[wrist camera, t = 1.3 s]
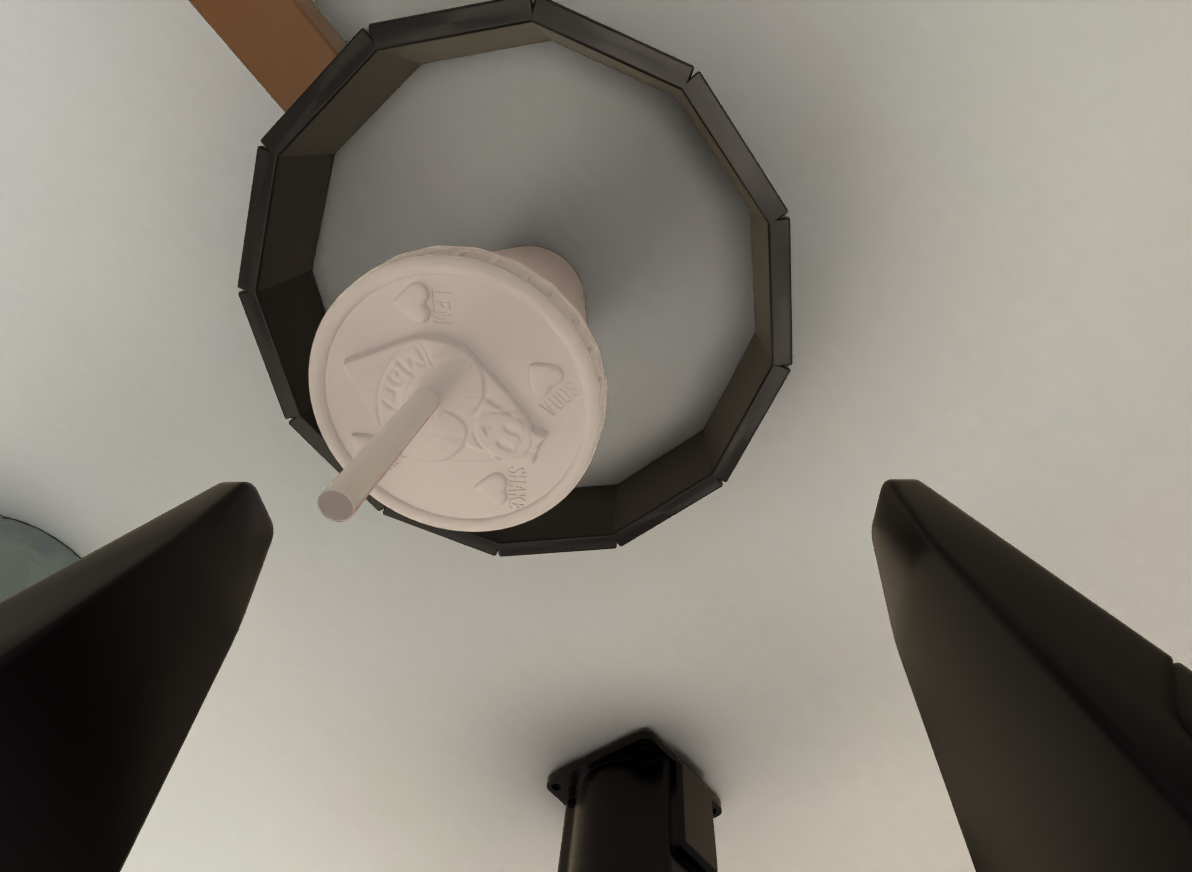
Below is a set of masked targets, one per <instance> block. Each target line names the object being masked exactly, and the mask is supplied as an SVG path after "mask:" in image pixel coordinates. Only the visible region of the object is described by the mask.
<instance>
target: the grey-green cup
mask: <svg viewBox="0 0 1192 872" xmlns="http://www.w3.org/2000/svg"><path fill="white" fill-rule="evenodd" d="M79 559H80V558H79V557H78V556H76V555H75V554H74V553H73V552H72V551H71V550H70V549H68V548H67V547H65V546H64V545H63V544H61V543H60V542H59V541H57V540H56V539H54V538H52V537H51V536H49V535H47V534H46V533H44V532H42V531H41V530H39V529H37V528H35V527H32V526H29V525H26V524H23V523H21V522H18V521H15V520H12V519H4V518H2V517H1V516H0V602H2V601H4V600H6V599H8V598H10V597H11V596H13V595H15V594H17V593H19V592H21V591H22V590H24V589H26V588H28V587H30V586H32V585H33V584H35V583H37V582H39V581H41V580H43V579H45V578H46V577H48V576H50V575H52V574H54V573H56V572H57V571H59V570H61V569H63V568H65V567H67V566H68V565H70V564H72V563H74V562H76V561H78V560H79Z"/></svg>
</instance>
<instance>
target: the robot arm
mask: <svg viewBox="0 0 1192 872" xmlns="http://www.w3.org/2000/svg"><path fill="white" fill-rule="evenodd" d="M272 538H273V524H272V521H271V519H270V517H269V515H268V512H267V510H266V508H265V506H264V504H263V502H262V500H261V498H260V495H259V493H258V491H257V489H256V488H255V487H254V486H253V485H252V484H251V483H248V482H223V483H220V484H217V485H215V486H214V487H212V488H210V489H208V490H206V491H204V492H203V493H201V494H199V495H197V496H195V497H193V498H192V499H190V500H188V501H186V502H184V503H182V504H181V505H179V506H177V507H175V508H173V509H171V510H170V511H168V512H166V513H164V514H162V515H160V516H158V517H157V518H155V519H153V520H151V521H149V522H147V523H146V524H144V525H142V526H140V527H138V528H136V529H135V530H133V531H131V532H129V533H127V534H125V535H124V536H122V537H120V538H118V539H116V540H114V541H113V542H111V543H109V544H107V545H105V546H103V547H102V548H100V549H98V550H96V551H94V552H92V553H90V554H89V555H87V556H85V557H83V558H81V559H79V560H78V561H76V562H74V563H72V564H70V565H68V566H67V567H65V568H63V569H61V570H59V571H57V572H56V573H54V574H52V575H50V576H48V577H46V578H45V579H43V580H41V581H39V582H37V583H35V584H33V585H32V586H30V587H28V588H26V589H24V590H22V591H21V592H19V593H17V594H15V595H13V596H11V597H10V598H8V599H6V600H4V601H2V602H0V872H120V871H121V869H122V867H123V865H124V863H125V861H126V859H127V857H128V855H129V853H130V851H131V849H132V847H133V845H134V843H135V841H136V838H137V836H138V834H139V832H140V830H141V828H142V826H143V824H144V822H145V820H146V818H147V816H148V814H149V812H150V810H151V808H152V806H153V804H154V802H155V800H156V798H157V796H158V794H159V792H160V790H161V788H162V786H163V783H164V781H165V779H166V777H167V775H168V773H169V771H170V769H171V767H172V765H173V763H174V761H175V759H176V757H177V755H178V753H179V751H180V749H181V747H182V745H183V743H184V741H185V739H186V737H187V735H188V733H189V730H190V728H191V726H192V724H193V722H194V720H195V718H196V716H197V714H198V712H199V710H200V708H201V706H202V704H203V702H204V700H205V698H206V696H207V694H208V692H209V690H210V688H211V686H212V684H213V682H214V680H215V678H216V675H217V673H218V671H219V669H220V667H221V665H222V663H223V661H224V659H225V657H226V655H227V653H228V651H229V649H230V647H231V645H232V643H233V641H234V638H235V636H236V634H237V632H238V630H239V627H240V625H241V622H242V620H243V617H244V615H245V612H246V609H247V607H248V604H249V601H250V598H251V596H252V593H253V590H254V588H255V585H256V582H257V579H258V577H259V574H260V571H261V569H262V566H263V563H264V560H265V558H266V555H267V552H268V549H269V547H270V544H271V541H272ZM872 542H873V546H874V551H875V555H876V560H877V564H878V569H879V573H880V578H881V582H882V587H883V591H884V596H885V600H886V605H887V609H888V614H889V618H890V623H891V627H892V631H893V635H894V639H895V643H896V646H897V649H898V652H899V655H900V658H901V661H902V664H903V667H904V670H905V672H906V675H907V678H908V681H909V684H910V686H911V689H912V692H913V695H914V698H915V701H916V703H917V706H918V709H919V712H920V715H921V718H922V720H923V723H924V726H925V729H926V732H927V735H928V737H929V740H930V743H931V746H932V749H933V751H934V754H935V757H936V760H937V763H938V766H939V768H940V771H941V774H942V777H943V780H944V783H945V785H946V788H947V791H948V794H949V797H950V799H951V802H952V805H953V808H954V811H955V814H956V816H957V819H958V822H959V825H960V828H961V831H962V833H963V836H964V839H965V842H966V845H967V848H968V850H969V853H970V856H971V859H972V862H973V864H974V867H975V870H976V872H1192V671H1191V670H1190V669H1188V668H1187V667H1185V666H1184V665H1182V664H1181V663H1173V659H1172V657H1171V656H1169V655H1168V654H1166V653H1165V652H1164V651H1162V650H1161V649H1159V648H1158V647H1156V646H1155V645H1154V644H1152V643H1151V642H1149V641H1148V640H1146V639H1145V638H1144V637H1142V636H1141V635H1139V634H1138V633H1136V632H1135V631H1134V630H1132V629H1131V628H1129V627H1128V626H1126V625H1125V624H1124V623H1122V622H1121V621H1119V620H1118V619H1116V618H1115V617H1114V616H1112V615H1111V614H1109V613H1108V612H1106V611H1105V610H1104V609H1102V608H1101V607H1099V606H1098V605H1096V604H1095V603H1094V602H1092V601H1091V600H1089V599H1088V598H1086V597H1085V596H1084V595H1082V594H1081V593H1079V592H1078V591H1076V590H1075V589H1074V588H1072V587H1071V586H1069V585H1068V584H1066V583H1065V582H1064V581H1062V580H1061V579H1059V578H1058V577H1056V576H1055V575H1054V574H1052V573H1051V572H1049V571H1048V570H1046V569H1045V568H1044V567H1042V566H1041V565H1039V564H1038V563H1036V562H1035V561H1034V560H1032V559H1031V558H1029V557H1028V556H1026V555H1025V554H1024V553H1022V552H1021V551H1019V550H1018V549H1016V548H1015V547H1014V546H1012V545H1011V544H1009V543H1008V542H1006V541H1005V540H1004V539H1002V538H1001V537H999V536H998V535H996V534H995V533H994V532H992V531H991V530H989V529H988V528H986V527H985V526H984V525H982V524H981V523H979V522H978V521H976V520H975V519H974V518H972V517H971V516H969V515H968V514H966V513H965V512H964V511H962V510H961V509H959V508H958V507H956V506H955V505H954V504H952V503H951V502H949V501H948V500H946V499H945V498H944V497H942V496H941V495H939V494H938V493H936V492H935V491H934V490H932V489H931V488H929V487H928V486H926V485H925V484H924V483H922V482H920V481H918V480H914V479H890V480H887V481H886V482H884V484H883V486H882V488H881V491H880V495H879V499H878V503H877V507H876V511H875V515H874V519H873V524H872ZM547 789H548V790H549V791H550V792H551V793H552V794H553V795H555V796H556V797H557V798H558V799H559V800H560V801H561V802H562V803H563V804H565V805H566V811H565V819H564V827H563V835H562V842H561V850H560V858H559V866H558V872H717V871H718V869H717V857H716V846H715V834H714V823H713V818H715V817H717V816H719V815H720V814H721V802H720V800H719V799H718V798H717V797H716V796H715V795H714V794H713V793H712V792H711V791H710V789H709V788H708V787H707V786H706V785H705V784H704V783H703V782H702V781H701V780H700V779H699V778H698V777H697V776H696V775H695V774H694V773H693V772H692V771H691V770H690V769H689V768H688V766H687V765H686V764H685V763H684V762H682V761H681V760H679V759H678V758H677V757H676V756H675V755H674V754H673V753H672V752H671V751H670V750H669V749H668V748H667V747H666V746H665V745H664V744H663V743H662V741H661V740H660V739H659V738H658V737H657V736H656V735H655V734H653V733H652V732H649V731H641V732H638V733H636V734H634V735H632V736H630V737H628V738H626V739H624V740H622V741H620V742H617V743H615V744H613V745H611V746H609V747H607V748H605V749H603V750H601V751H599V752H596V753H594V754H592V755H590V756H588V757H586V758H584V759H582V760H580V761H578V762H575V763H573V764H571V765H569V766H567V767H565V768H563V769H561V770H559V771H557V772H554V773H552V774H551V775H549V777H548V780H547Z"/></svg>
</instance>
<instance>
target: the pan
mask: <svg viewBox="0 0 1192 872" xmlns="http://www.w3.org/2000/svg"><path fill="white" fill-rule="evenodd" d="M189 1H190V2H191V4H192V5H193V6H194V7H195V8H196V9H197V11H198V12H199V13H200V14H201V15H202V16H203V18H204V19H205V20H206V21H207V22H208V23H209V25H210V26H211V27H212V28H213V29H214V30H215V31H216V33H217V34H218V35H219V36H220V37H221V38H222V40H223V41H224V42H225V43H226V44H227V45H228V47H229V48H230V49H231V50H232V51H233V52H234V54H235V55H236V56H237V57H238V58H239V59H240V61H241V62H242V63H243V64H244V65H245V66H246V67H247V69H248V70H249V71H250V72H251V73H252V74H253V76H254V77H255V78H256V79H257V80H258V81H259V83H260V84H261V85H262V86H263V87H264V88H265V90H266V91H267V92H268V93H269V94H270V95H271V97H272V98H273V99H274V100H275V101H276V102H277V103H278V105H279V106H280V107H281V108H282V109H283V110H284V112H286V113H285V114H284V115H283V116H282V117H281V118H280V119H279V120H278V121H277V122H276V124H275V125H274V126H273V127H272V128H271V129H270V130H269V131H268V132H267V133H266V135H265V136H264V137H263V138H262V139H261V142H262V143H263V144H264V146H259V147H258V149H257V156H256V163H255V170H254V177H253V184H252V191H251V197H250V204H249V211H248V218H247V225H246V232H245V239H244V246H243V253H242V260H241V267H240V273H239V280H238V287H239V288H241V289H243V291H240V292H239V297H240V299H241V302H242V305H243V307H244V310H245V313H246V315H247V318H248V321H249V323H250V326H251V329H252V331H253V334H254V337H255V339H256V342H257V345H258V347H259V350H260V353H261V355H262V358H263V361H264V363H265V366H266V369H267V371H268V374H269V377H270V379H271V382H272V385H273V387H274V390H275V393H276V395H277V398H278V401H279V403H280V406H281V409H282V411H283V414H284V417H285V418H286V419H289V418H293V419H291V420H290V421H289V424H290V425H291V426H292V427H293V428H294V429H295V430H296V431H297V432H298V433H299V434H300V435H301V436H302V437H303V438H304V439H305V440H306V441H307V442H308V443H309V444H310V445H311V446H312V447H313V448H314V449H315V450H316V451H317V452H318V453H319V454H320V455H321V456H322V457H323V458H325V459H326V460H327V461H328V462H329V463H330V464H331V465H332V466H333V467H334V468H335V469H336V470H337V471H338V472H339V473H340V472H341V471H342V470H343V468H342V466H341V465H340V464H339V462H338V461H337V460H336V458H335V457H334V455H333V454H332V452H331V451H330V449H329V447H328V446H327V444H326V442H325V440H324V438H323V436H322V434H321V431H320V429H319V427H318V424H317V421H316V418H315V415H314V412H313V408H312V403H311V399H310V391H309V361H310V354H311V349H312V344H313V341H314V338H315V335H316V332H317V330H318V328H319V325H320V323H321V321H322V319H323V317H324V316H325V311H324V308H323V305H322V302H321V299H320V296H319V293H318V290H317V286H316V283H315V280H314V277H313V274H312V271H311V269H312V264H313V259H314V254H315V249H316V243H317V238H318V233H319V228H320V223H321V218H322V213H323V208H324V202H325V197H326V192H327V187H328V182H329V177H330V172H331V167H332V161H333V156H334V153H335V152H336V151H337V150H338V149H339V148H340V147H341V146H342V145H343V144H344V143H345V142H346V141H347V140H348V139H349V138H350V137H351V136H352V135H353V134H354V133H355V132H356V131H357V130H358V129H359V128H360V126H361V125H362V124H363V123H364V122H365V121H366V120H367V119H368V118H369V117H370V116H371V115H372V114H373V113H374V112H375V111H376V110H377V109H378V108H379V107H380V106H381V105H382V104H383V103H384V102H385V101H386V100H387V99H388V98H389V97H390V96H391V94H392V93H393V92H394V91H395V90H396V89H397V88H398V87H399V86H400V85H401V84H402V83H403V82H404V81H405V80H406V79H407V78H408V77H409V76H410V75H411V74H412V73H413V72H414V71H415V70H416V69H417V68H418V67H419V66H420V65H421V64H423V63H429V62H434V61H440V60H445V59H451V58H456V57H462V56H467V55H473V54H478V53H484V52H490V51H495V50H501V49H506V48H512V47H517V46H523V45H528V44H534V43H539V42H545V41H551V40H552V41H554V42H556V43H558V44H561V45H563V46H565V47H567V48H569V49H572V50H574V51H576V52H578V53H580V54H583V55H585V56H587V57H589V58H591V59H594V60H596V61H598V62H600V63H602V64H605V65H607V66H609V67H611V68H613V69H616V70H618V71H620V72H622V73H624V74H626V75H629V76H631V77H633V78H635V79H637V80H640V81H642V82H644V83H646V84H648V85H651V86H653V87H655V88H657V89H659V90H662V91H664V92H666V93H668V94H670V95H673V96H675V97H677V98H678V100H679V101H680V103H681V105H682V106H683V108H684V109H685V111H686V112H687V114H688V115H689V117H690V118H691V120H692V121H693V123H694V124H695V126H696V127H697V129H698V131H699V132H700V134H701V135H702V137H703V138H704V140H705V141H706V143H707V144H708V146H709V147H710V149H711V150H712V152H713V153H714V155H715V157H716V158H717V160H718V161H719V163H720V164H721V166H722V167H723V169H724V170H725V172H726V173H727V175H728V176H729V178H730V179H731V181H732V183H733V184H734V186H735V187H736V189H737V190H738V192H739V193H740V195H741V196H742V198H743V199H744V201H745V202H746V204H747V205H748V207H749V208H750V212H751V236H752V261H753V286H754V310H755V334H754V336H753V338H752V340H751V342H750V344H749V345H748V347H747V349H746V351H745V353H744V355H743V357H742V359H741V360H740V362H739V364H738V366H737V368H736V370H735V372H734V374H733V376H732V377H731V379H730V381H729V383H728V385H727V387H726V389H725V391H724V392H723V394H722V396H721V398H720V400H719V402H718V404H717V406H716V407H715V409H714V411H713V413H712V415H711V417H710V419H709V421H708V423H707V424H706V426H705V428H704V430H703V431H701V432H699V433H698V434H696V435H695V436H693V437H692V438H690V439H689V440H687V441H685V442H684V443H682V444H681V445H679V446H678V447H676V448H674V449H673V450H671V451H670V452H668V453H667V454H665V455H663V456H662V457H660V458H659V459H657V460H656V461H654V462H653V463H651V464H649V465H648V466H646V467H645V468H643V469H642V470H640V471H638V472H637V473H635V474H634V475H632V476H631V477H629V478H627V479H626V480H624V481H623V482H621V483H620V484H618V485H611V486H599V487H587V488H575V489H573V490H572V491H571V492H570V493H569V494H568V495H567V496H566V497H565V498H564V499H563V500H562V501H560V502H559V503H558V504H557V505H556V506H554V507H553V508H551V509H550V510H548V511H547V512H545V513H543V514H542V515H540V516H538V517H536V518H534V519H532V520H530V521H527V522H525V523H522V524H519V525H516V526H513V527H509V528H505V529H500V530H493V531H481V532H466V531H455V530H447V529H442V528H437V527H433V526H430V525H427V524H423V523H420V522H418V521H415V520H412V519H410V518H408V517H406V516H403V515H401V514H399V513H397V512H395V511H394V510H392V509H390V508H388V507H387V506H385V505H384V504H382V503H381V502H379V501H378V500H376V499H375V498H373V497H372V496H371V495H370V494H369V495H368V496H367V498H366V500H368V501H369V502H370V503H371V504H372V505H373V506H374V507H375V508H376V509H377V510H378V511H380V510H382V509H383V508H384V510H383V514H384V515H387V516H389V517H392V518H395V519H397V520H400V521H403V522H405V523H408V524H411V525H413V526H416V527H419V528H421V529H424V530H427V531H429V532H432V533H435V534H437V535H440V536H443V537H445V538H448V539H451V540H453V541H456V542H459V543H461V544H464V545H467V546H470V547H472V548H475V549H478V550H480V551H483V552H486V553H488V554H491V555H494V556H495V555H496V554H497V552H499V555H500V556H501V557H502V556H516V555H530V554H544V553H558V552H572V551H585V550H599V549H613V548H616V547H617V543H618V544H619V546H623V545H625V544H626V543H628V542H630V541H631V540H633V539H635V538H636V537H638V536H640V535H641V534H643V533H645V532H646V531H648V530H650V529H651V528H653V527H655V526H656V525H658V524H660V523H661V522H663V521H665V520H667V519H668V518H670V517H672V516H673V515H675V514H677V513H678V512H680V511H682V510H683V509H685V508H687V507H688V506H690V505H692V504H693V503H695V502H697V501H698V500H700V499H702V498H703V497H705V496H707V495H708V494H710V493H712V492H713V491H715V490H717V489H718V488H720V487H722V485H723V484H722V481H724V482H727V481H728V479H729V477H730V475H731V474H732V472H733V470H734V468H735V467H736V465H737V463H738V461H739V460H740V458H741V456H742V454H743V453H744V451H745V449H746V447H747V446H748V444H749V442H750V441H751V439H752V437H753V435H754V434H755V432H756V430H757V428H758V427H759V425H760V423H761V421H762V420H763V418H764V416H765V414H766V413H767V411H768V409H769V407H770V406H771V404H772V402H773V400H774V399H775V397H776V395H777V393H778V392H779V390H780V388H781V386H782V385H783V383H784V381H785V380H786V378H787V376H788V374H789V373H790V368H789V366H788V365H792V363H793V361H792V299H791V237H790V218H789V217H788V216H786V215H785V214H787V213H788V210H787V208H786V206H785V205H784V203H783V202H782V200H781V199H780V197H779V195H778V194H777V192H776V191H775V189H774V187H773V186H772V184H771V183H770V181H769V180H768V178H767V176H766V175H765V173H764V172H763V170H762V169H761V167H760V165H759V164H758V162H757V161H756V159H755V157H754V156H753V154H752V153H751V151H750V150H749V148H748V146H747V145H746V143H745V142H744V140H743V139H742V137H741V135H740V134H739V132H738V131H737V129H736V128H735V126H734V124H733V123H732V121H731V120H730V118H729V116H728V115H727V113H726V112H725V110H724V109H723V107H722V105H721V104H720V102H719V101H718V99H717V98H716V96H715V94H714V93H713V91H712V90H711V88H710V87H709V85H708V83H707V82H706V80H705V79H704V77H703V75H702V74H701V72H697V73H696V74H695V75H693V76H692V77H691V75H692V73H693V71H694V67H693V66H692V65H690V64H688V63H686V62H684V61H682V60H679V59H677V58H675V57H673V56H671V55H669V54H666V53H664V52H662V51H660V50H658V49H656V48H653V47H651V46H649V45H647V44H645V43H643V42H640V41H638V40H636V39H634V38H632V37H630V36H627V35H625V34H623V33H621V32H619V31H617V30H614V29H612V28H610V27H608V26H606V25H604V24H601V23H599V22H597V21H595V20H593V19H591V18H588V17H586V16H584V15H582V14H580V13H578V12H575V11H573V10H571V9H569V8H567V7H565V6H562V5H560V4H558V3H556V2H554V1H552V0H491V1H486V2H481V3H476V4H471V5H465V6H460V7H455V8H450V9H444V10H439V11H434V12H429V13H424V14H418V15H413V16H408V17H403V18H397V19H392V20H387V21H382V22H376V23H371V24H370V25H369V30H368V29H365V28H362V29H361V30H360V31H359V32H358V33H357V34H356V35H355V36H354V37H353V39H352V40H351V41H350V42H349V43H348V44H346V43H345V41H344V40H343V39H342V38H341V36H340V35H339V34H338V33H337V31H336V30H335V29H334V28H333V26H332V25H331V24H330V23H329V21H328V20H327V19H326V18H325V17H324V15H323V14H322V13H321V12H320V10H319V9H318V8H317V7H316V5H315V4H314V3H313V2H312V0H189Z"/></svg>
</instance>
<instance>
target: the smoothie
mask: <svg viewBox="0 0 1192 872" xmlns="http://www.w3.org/2000/svg"><path fill="white" fill-rule="evenodd" d="M607 389H608V384H607V379H606V375H605V371H604V367H603V362H602V358H601V354H600V349H599V347H598V345H597V343H596V341H595V339H594V337H593V336H592V334H591V332H590V330H589V328H588V326H587V319H586V309H585V298H584V292H583V287H582V284H581V282H580V279H579V277H578V275H577V274H576V272H575V271H574V269H573V268H572V267H571V265H570V264H569V263H568V262H567V261H566V260H565V259H563V258H562V257H561V256H559V255H558V254H556V253H554V252H552V251H550V250H548V249H545V248H541V247H536V246H521V247H515V248H509V249H503V250H497V251H491V252H490V251H487V250H484V249H481V248H478V247H460V246H441V245H436V246H431V247H427V248H423V249H418V250H414V251H410V252H405V253H401V254H398V255H396V256H394V257H393V258H391V259H389V260H387V261H386V262H384V263H382V264H381V265H379V266H377V267H375V268H374V269H372V270H370V271H369V272H367V273H365V275H364V276H362V277H360V278H359V279H357V280H356V281H355V282H354V283H352V284H351V285H350V286H348V287H347V288H346V289H345V290H344V291H343V292H342V293H341V294H340V295H339V296H338V297H337V299H336V300H335V301H334V302H333V304H332V305H331V306H330V308H329V309H328V311H327V312H326V314H325V316H324V317H323V319H322V321H321V323H320V325H319V328H318V330H317V332H316V335H315V338H314V341H313V344H312V349H311V354H310V361H309V391H310V399H311V403H312V408H313V412H314V415H315V418H316V421H317V424H318V427H319V429H320V431H321V434H322V436H323V438H324V440H325V442H326V444H327V446H328V447H329V449H330V451H331V452H332V454H333V455H334V457H335V458H336V460H337V461H338V462H339V464H340V465H341V466H342V468H343V470H342V471H341V472H340V474H339V475H338V476H337V477H336V478H335V479H334V480H333V481H332V482H331V483H330V484H329V485H328V487H327V488H326V489H325V490H324V491H323V492H322V493H321V494H320V495H319V497H318V501H317V503H318V508H319V510H320V511H321V513H322V514H323V515H324V516H325V517H327V518H328V519H330V520H333V521H337V522H343V521H346V520H348V519H350V518H351V517H352V515H353V514H354V513H355V512H356V510H357V509H358V508H359V507H360V505H361V504H362V503H363V502H364V500H365V499H366V498H367V496H368V495H369V494H370V495H371V496H372V497H373V498H375V499H376V500H378V501H379V502H381V503H382V504H384V505H385V506H387V507H388V508H390V509H392V510H394V511H395V512H397V513H399V514H401V515H403V516H406V517H408V518H410V519H412V520H415V521H418V522H420V523H423V524H427V525H430V526H433V527H437V528H442V529H447V530H455V531H466V532H481V531H493V530H500V529H505V528H509V527H513V526H516V525H519V524H522V523H525V522H527V521H530V520H532V519H534V518H536V517H538V516H540V515H542V514H543V513H545V512H547V511H548V510H550V509H551V508H553V507H554V506H556V505H557V504H558V503H559V502H560V501H562V500H563V499H564V498H565V497H566V496H567V495H568V494H569V493H570V492H571V491H572V490H573V489H574V488H575V486H576V485H577V484H578V482H579V481H580V480H581V478H582V477H583V475H584V473H585V472H586V470H587V468H588V467H589V464H590V462H591V460H592V458H593V456H594V453H595V450H596V447H597V444H598V442H599V439H600V436H601V433H602V430H603V427H604V424H605V421H606V410H607Z"/></svg>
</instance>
